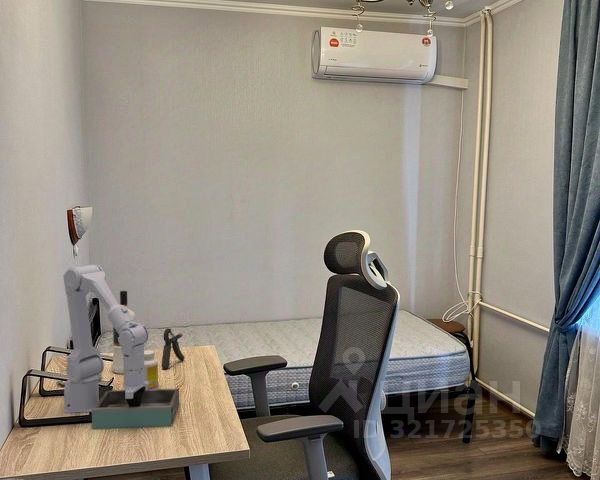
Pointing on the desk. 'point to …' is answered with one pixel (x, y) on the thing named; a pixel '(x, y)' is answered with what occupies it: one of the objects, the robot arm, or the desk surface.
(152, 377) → the supplement bottle
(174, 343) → the hand grip strengthener
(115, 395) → the box
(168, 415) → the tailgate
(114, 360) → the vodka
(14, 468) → the desk surface
